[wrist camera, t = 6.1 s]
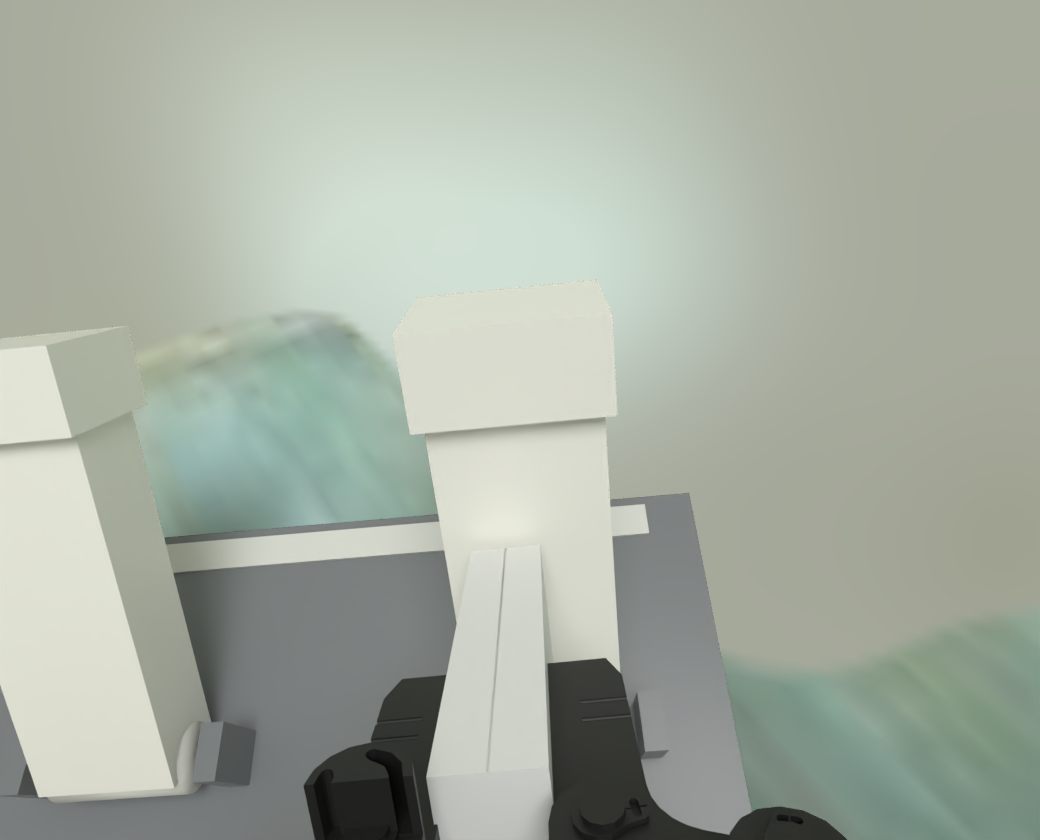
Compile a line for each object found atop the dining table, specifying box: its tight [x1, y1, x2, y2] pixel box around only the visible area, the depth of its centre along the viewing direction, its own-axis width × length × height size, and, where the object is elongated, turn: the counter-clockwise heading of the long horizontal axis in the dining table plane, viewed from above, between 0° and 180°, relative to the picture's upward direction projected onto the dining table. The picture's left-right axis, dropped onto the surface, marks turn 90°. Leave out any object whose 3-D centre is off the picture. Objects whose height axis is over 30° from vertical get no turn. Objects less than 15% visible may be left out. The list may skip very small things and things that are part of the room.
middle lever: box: [0, 326, 211, 803], centre depth 17 cm, size 3×4×12 cm
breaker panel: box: [0, 493, 752, 840], centre depth 21 cm, size 14×33×7 cm, turn 93°
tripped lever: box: [392, 280, 620, 672], centre depth 16 cm, size 3×4×12 cm
